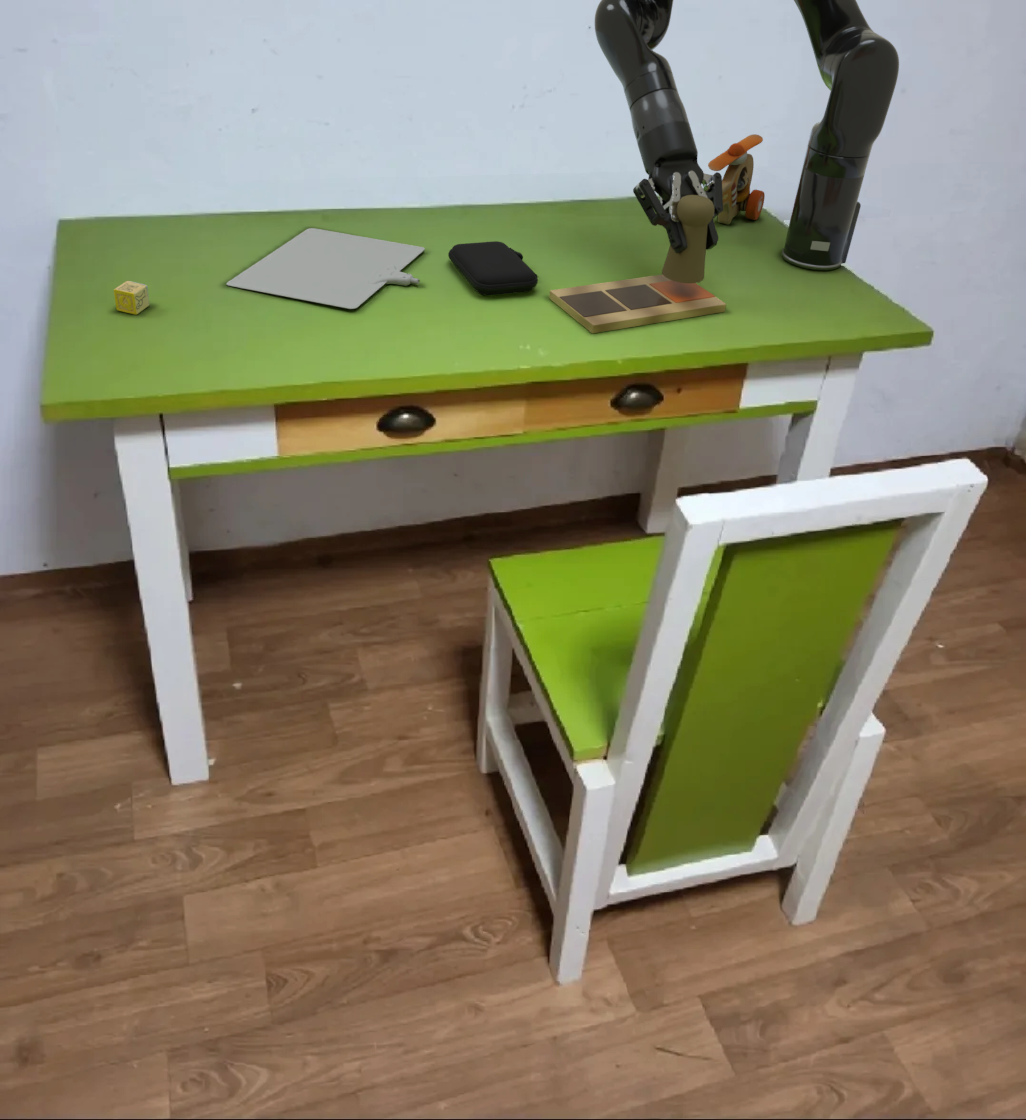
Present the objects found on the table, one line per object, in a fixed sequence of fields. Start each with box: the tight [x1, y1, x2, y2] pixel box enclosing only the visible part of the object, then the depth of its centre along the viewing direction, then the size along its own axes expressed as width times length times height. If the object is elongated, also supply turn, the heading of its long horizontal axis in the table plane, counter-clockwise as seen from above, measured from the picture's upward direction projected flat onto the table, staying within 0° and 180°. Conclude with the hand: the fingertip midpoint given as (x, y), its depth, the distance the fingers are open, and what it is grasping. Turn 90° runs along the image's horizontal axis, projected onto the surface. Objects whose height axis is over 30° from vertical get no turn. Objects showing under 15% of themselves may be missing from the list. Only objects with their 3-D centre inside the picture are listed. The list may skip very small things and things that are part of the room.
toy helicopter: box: [707, 134, 766, 225], centre depth 175 cm, size 8×21×14 cm, turn 150°
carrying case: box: [447, 240, 539, 297], centre depth 153 cm, size 11×3×15 cm
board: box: [548, 273, 727, 334], centre depth 149 cm, size 22×12×1 cm, turn 117°
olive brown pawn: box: [661, 195, 714, 284], centre depth 147 cm, size 6×6×11 cm
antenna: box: [226, 227, 426, 310], centre depth 152 cm, size 25×24×1 cm
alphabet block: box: [113, 280, 150, 316], centre depth 136 cm, size 3×3×3 cm
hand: (696, 248), depth 147 cm, fingers closed on olive brown pawn, 4 cm apart
